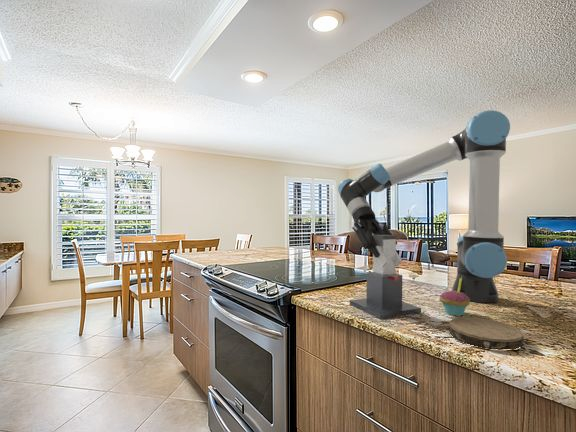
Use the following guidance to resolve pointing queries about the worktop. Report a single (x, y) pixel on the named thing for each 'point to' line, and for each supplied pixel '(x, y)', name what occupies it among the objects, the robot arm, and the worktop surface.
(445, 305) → the cupcake
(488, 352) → the worktop surface
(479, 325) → the wooden slice coaster
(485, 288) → the robot arm
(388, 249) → the column
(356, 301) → the stand base
